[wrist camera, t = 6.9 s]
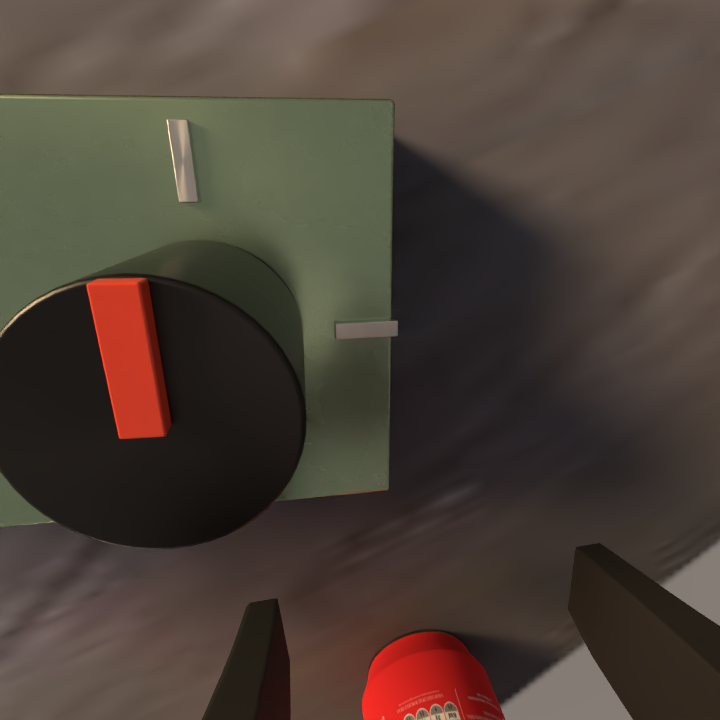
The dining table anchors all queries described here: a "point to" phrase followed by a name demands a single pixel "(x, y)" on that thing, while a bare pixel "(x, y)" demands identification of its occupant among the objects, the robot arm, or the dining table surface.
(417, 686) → the beverage can
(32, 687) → the dining table surface
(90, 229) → the panel
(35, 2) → the dining table surface
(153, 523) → the oven knob
